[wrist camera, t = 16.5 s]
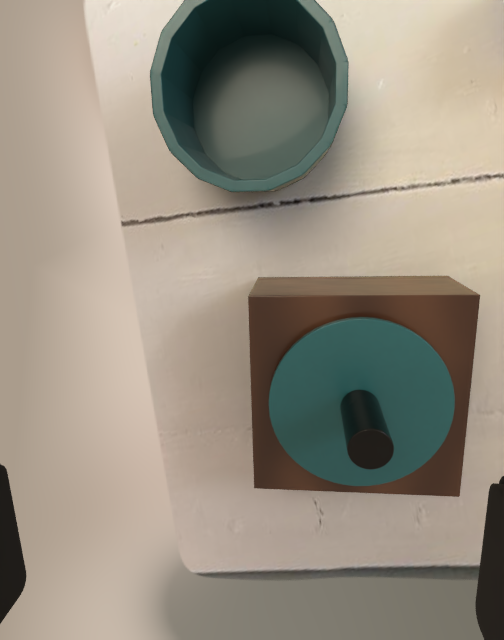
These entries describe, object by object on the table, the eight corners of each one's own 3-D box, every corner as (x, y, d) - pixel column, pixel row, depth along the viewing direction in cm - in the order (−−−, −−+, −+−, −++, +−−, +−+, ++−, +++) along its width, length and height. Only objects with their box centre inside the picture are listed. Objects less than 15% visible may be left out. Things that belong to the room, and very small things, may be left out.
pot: (190, 193, 37) (158, 194, 29) (180, 31, 34) (142, -19, 26) (336, 189, 36) (345, 188, 28) (339, 20, 33) (350, -35, 25)
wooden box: (262, 441, 42) (254, 488, 36) (257, 277, 38) (248, 295, 32) (434, 446, 41) (459, 497, 34) (448, 275, 37) (480, 294, 30)
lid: (271, 474, 35) (263, 536, 29) (268, 314, 32) (258, 345, 26) (442, 480, 34) (474, 547, 28) (457, 314, 31) (497, 346, 24)
